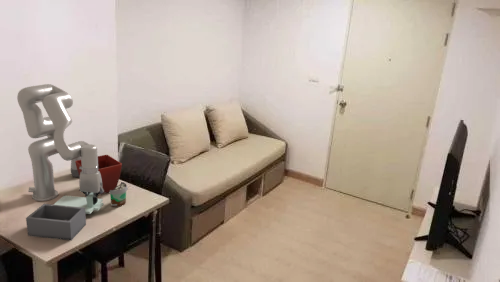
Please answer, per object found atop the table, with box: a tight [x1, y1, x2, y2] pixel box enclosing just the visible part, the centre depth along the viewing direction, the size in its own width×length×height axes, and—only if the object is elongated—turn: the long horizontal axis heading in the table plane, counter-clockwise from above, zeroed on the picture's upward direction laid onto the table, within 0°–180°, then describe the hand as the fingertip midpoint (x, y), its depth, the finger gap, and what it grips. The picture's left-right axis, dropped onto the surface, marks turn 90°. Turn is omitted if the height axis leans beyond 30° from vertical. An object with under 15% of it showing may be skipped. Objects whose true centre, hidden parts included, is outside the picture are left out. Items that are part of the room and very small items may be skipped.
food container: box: [108, 181, 129, 208], centre depth 210 cm, size 12×6×10 cm, turn 168°
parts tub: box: [25, 203, 87, 241], centre depth 182 cm, size 20×14×9 cm
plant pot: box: [75, 154, 123, 196], centre depth 223 cm, size 19×19×17 cm
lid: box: [52, 192, 104, 215], centre depth 200 cm, size 23×15×8 cm, turn 86°
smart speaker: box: [70, 157, 81, 178], centre depth 240 cm, size 10×9×14 cm
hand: (92, 202), depth 200 cm, fingers closed on lid
